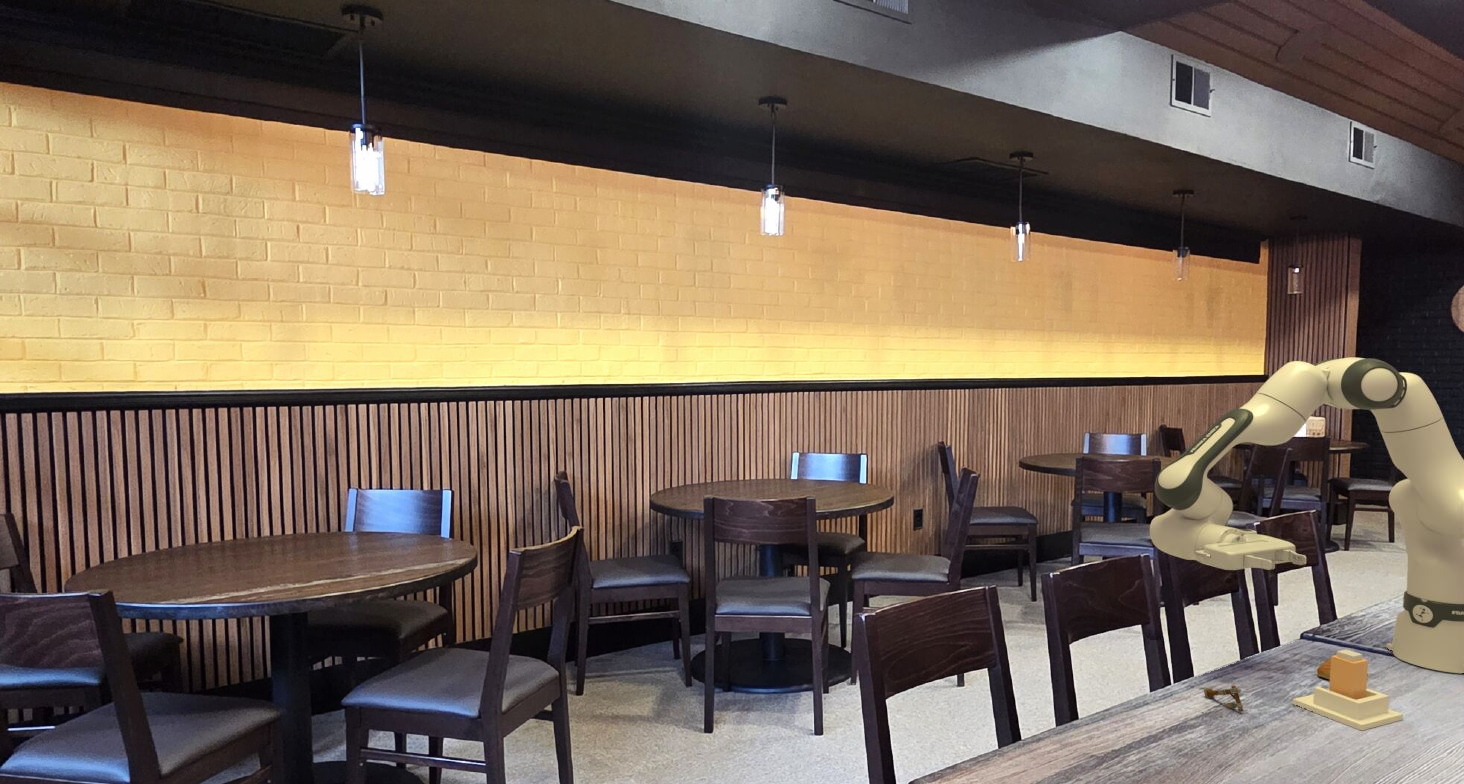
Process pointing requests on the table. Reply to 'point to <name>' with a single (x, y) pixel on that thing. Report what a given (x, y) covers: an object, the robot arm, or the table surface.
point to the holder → (1351, 708)
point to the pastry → (1325, 669)
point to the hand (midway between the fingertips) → (1288, 562)
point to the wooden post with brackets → (1211, 693)
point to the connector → (1348, 674)
